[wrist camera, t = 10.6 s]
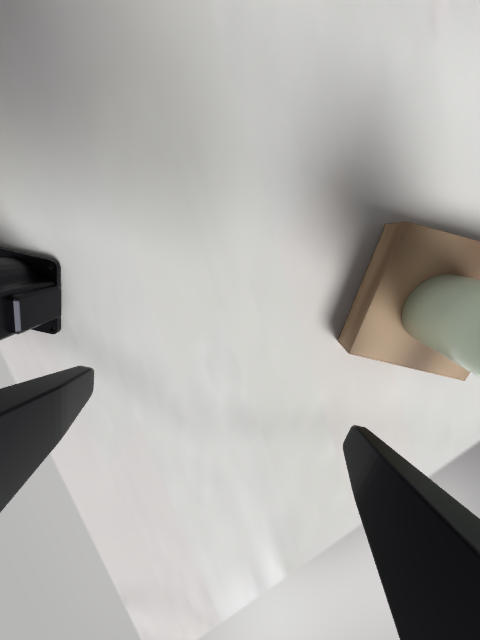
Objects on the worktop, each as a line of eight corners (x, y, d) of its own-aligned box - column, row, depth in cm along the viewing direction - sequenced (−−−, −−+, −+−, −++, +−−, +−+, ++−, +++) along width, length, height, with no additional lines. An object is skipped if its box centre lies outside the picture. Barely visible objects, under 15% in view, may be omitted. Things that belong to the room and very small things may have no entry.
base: (337, 341, 21) (349, 353, 19) (385, 223, 18) (406, 221, 16) (441, 365, 22) (464, 380, 19) (505, 256, 19) (543, 258, 16)
